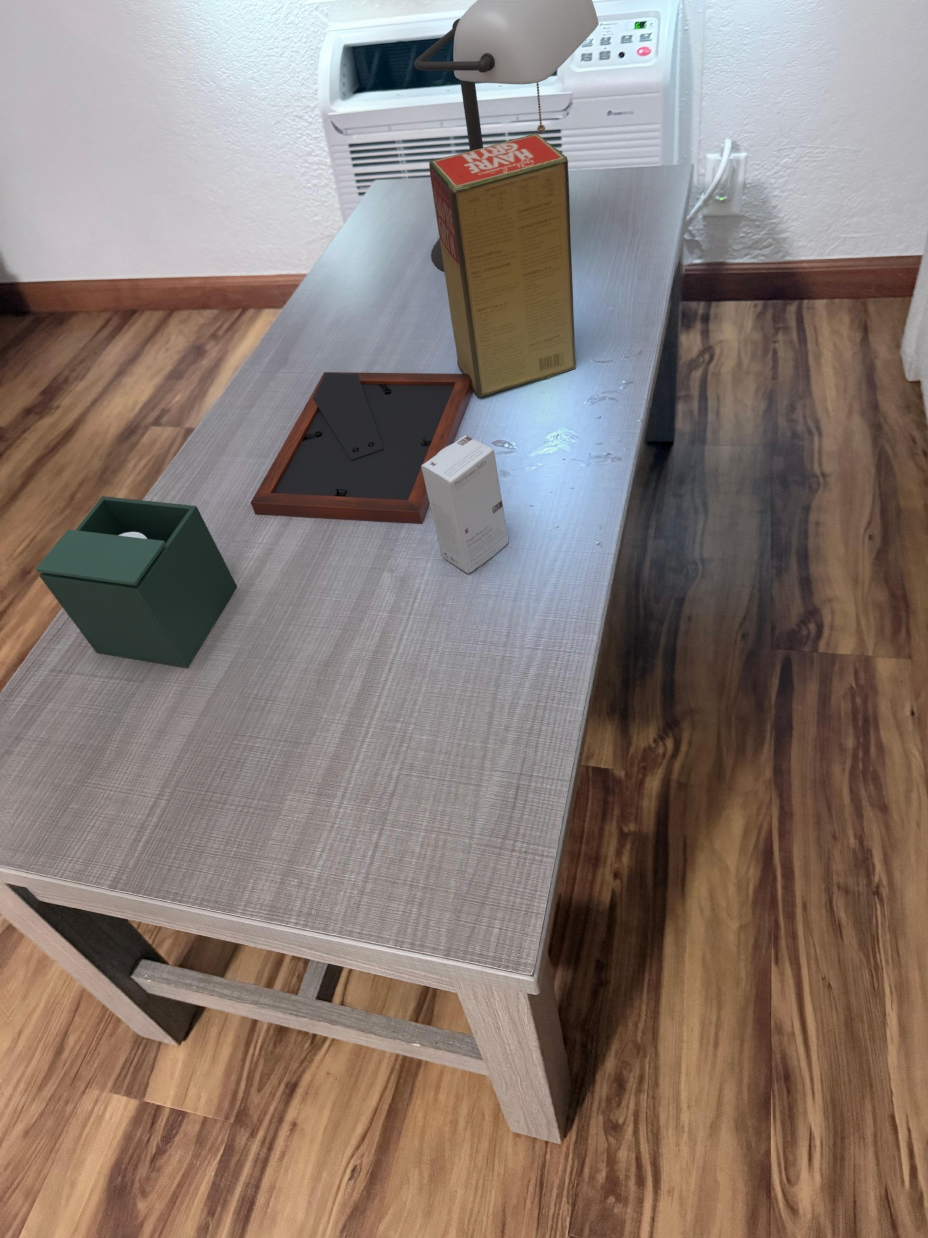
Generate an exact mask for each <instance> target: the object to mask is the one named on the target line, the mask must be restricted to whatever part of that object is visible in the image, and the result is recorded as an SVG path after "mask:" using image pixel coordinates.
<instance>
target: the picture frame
mask: <svg viewBox="0 0 928 1238" xmlns="http://www.w3.org/2000/svg"><path fill="white" fill-rule="evenodd" d="M473 393H474V391H473V389H472V381H471V378H470V376H469V375H468V374H463V373H435V372H434V373H433V372H431V373H430V372H428V373H427V372H351V371H350V372H349V371H348V372H345V371H344V372H343V371H342V372H341V371H338V372H337V371H324V372H323V374H321V377H320V379H319V380H318V382H317V383H316V386H315V388H314V389H313V391H312V393H311V394H310V396H309V398H308V400H307V401H306V403H305V405H304V407H303V409H302V411H301V412H300V414H299V416H298V417H297V419H296V421H295V423H294V425H293V427H292V428H291V430H290V432H289V434H288V436H287V437H286V438H285V441H284V442H283V444H282V446H281V448H280V450H279V451H278V453H277V455H276V456H275V458H274V460H273V462H272V464H271V466H270V467H269V469H268V471H267V473H266V474H265V476H264V478H263V480H262V482H261V483H260V485H259V487H258V489H257V490H256V492H255V494H254V496H253V498H252V499H251V501H250V505H251V507H252V509H253V512H254V514H255V515H263V516H264V515H267V516H281V517H282V516H283V517H284V516H285V517H297V518H298V517H299V518H316V519H333V520H350V521H367V522H383V523H386V522H387V523H399V524H400V523H401V524H417V525H423V523H424V521H425V517H426V514H427V512H428V509H429V507H430V503H429V498H428V494H427V490H426V485H425V481H424V476H423V472H422V468H421V466H422V465H423V464H424V463H426V462H427V461H429V460H430V459H431V458H433V457H434V456H436V455H437V453H439V452H440V451H441V450H442V449H444V448H445V447H447V446H449V445H451V444H453V443H454V442H455V439H456V436H457V434H458V431H459V428H460V425H461V423H462V420H463V417H464V415H465V413H466V411H467V407H468V405H469V403H470V399H471V397H472V394H473Z"/></svg>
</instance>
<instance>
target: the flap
mask: <svg viewBox="0 0 928 1238" xmlns="http://www.w3.org/2000/svg"><path fill="white" fill-rule="evenodd" d="M165 544H166V543H165V541H160V540H152V539H144V538H135V537H127V536H119V535H110V534H102V533H94V532H85V531H77V530H76V529H67V530H66V531H65V532H64V534H63V535H62V536H61V537H60V538H59V540H58V541H57V542H56V543H55V545H53V547H52V548H51V549H50V550H49V552H48V553H47V554H46V555H45V556H44V558H43V559H42V560H41V561H40V563H38V565H37V566H36V568H35V571H36V572H37V573H40V574H41V573H49V574H56V575H63V576H70V577H77V578H84V579H92V580H99V581H106V582H113V583H120V584H127V585H135V586H136V585H137V584H138V582H139V581H140V579H141V578H142V577H143V575H144V574H145V572H146V571H147V570H148V568H149V567H150V565H151V564H152V563H153V561H154V560H155V558H156V557H157V556H158V554H159V553H160V551H161V550H162V549H163V547H164V546H165Z"/></svg>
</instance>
